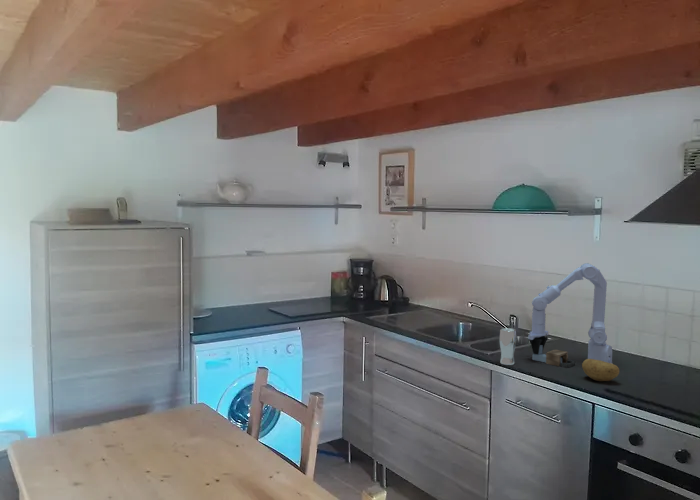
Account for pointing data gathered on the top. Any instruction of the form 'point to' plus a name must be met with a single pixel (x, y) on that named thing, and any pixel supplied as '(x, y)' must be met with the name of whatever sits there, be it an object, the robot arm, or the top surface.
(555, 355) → the tunnel
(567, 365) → the pit
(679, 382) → the top surface
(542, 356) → the blue l-shaped block
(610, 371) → the potato
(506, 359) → the beer glass
